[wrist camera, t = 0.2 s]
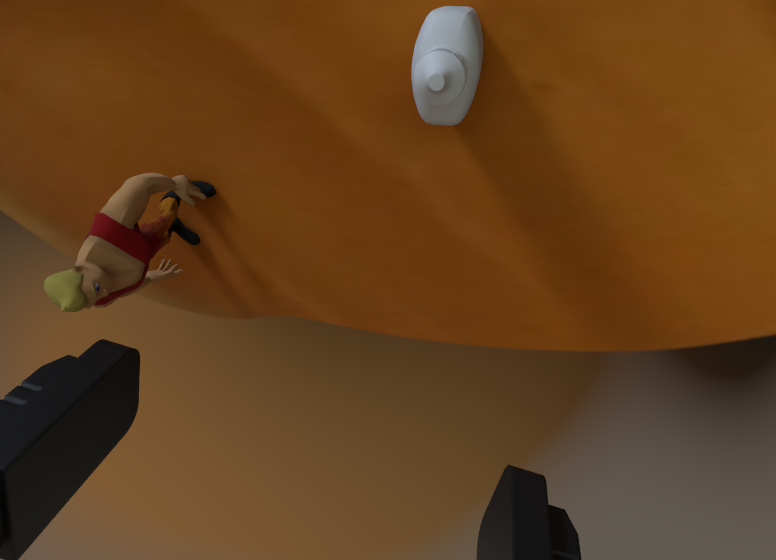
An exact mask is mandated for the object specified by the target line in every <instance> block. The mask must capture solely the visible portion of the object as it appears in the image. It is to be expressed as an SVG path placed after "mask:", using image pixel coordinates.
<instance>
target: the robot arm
mask: <svg viewBox="0 0 776 560" xmlns="http://www.w3.org/2000/svg"><path fill="white" fill-rule="evenodd" d="M139 374H140V354H139V351H138V350H136V349H134V348H130V347H127V346H124V345H121V344H117V343H114V342H111V341H107V340H104V339H102V340H99V341H97V342H96V343H95V344H93V345H92V346H91V347H90V348H89V349H87V350H86V351H85V352H84V353H83V354H82V355H81V356H79V357H78V358H76V357H74V356H70V355H67V356H65V357H62V358H60V359H58V360H55V361H53V362H51V363H48V364H46V365H43V366H42V367H40V368H39V369H38V370H36V372H34V373H33V374H32V375H30V376H29V377H28V378H27V379H25V380H24V381H23V382H22V384H21V386H17V387H15V388H14V389H13V390H12V391H11V392H9V393H8V394H7V395H6V396H5V398H4V399H3V400H0V558H1V559H5V560H18V559H19V558H20V557H21V556H22V555H23V553H24V552H25V551H26V550H27V549H28V548H29V546H30V545H31V544H32V543H33V542H34V540H35V539H36V538H37V537H38V536H39V535H40V533H41V532H42V531H43V530H44V529H45V528H46V526H47V525H48V524H49V523H50V522H51V520H52V519H53V518H54V517H55V516H56V515H57V513H58V512H59V511H60V510H61V509H62V508H63V507H64V505H65V504H66V503H67V502H68V501H69V500H70V498H71V497H72V496H73V495H74V494H75V493H76V491H77V490H78V489H79V488H80V487H81V486H82V484H83V483H84V482H85V481H86V480H87V479H88V477H89V476H90V475H91V474H92V473H93V471H94V470H95V469H96V468H97V467H98V466H99V464H100V463H101V462H102V461H103V460H104V459H105V457H106V456H107V455H108V454H109V453H110V452H111V450H112V449H113V448H114V447H115V446H116V445H117V443H118V442H119V441H120V440H121V439H122V437H123V436H124V435H125V434H126V433H127V431H128V430H129V428H130V427H131V425H132V423H133V421H134V419H135V416H136V413H137V409H138V402H139ZM477 560H581V553H580V546H579V538H578V533H577V532H576V530H575V528H574V526H573V524H572V522H571V520H570V519H569V517H568V515H567V513H566V511H565V510H564V509H561V508H558V507H555V506H551V505H548V497H547V486H546V479H545V477H544V476H543V475H541V474H537V473H534V472H530V471H527V470H524V469H521V468H518V467H514V466H511V465H508V466H507V467H506V468H505V470H504V472H503V474H502V476H501V478H500V480H499V483H498V485H497V487H496V489H495V491H494V494H493V496H492V498H491V500H490V502H489V505H488V507H487V509H486V511H485V514H484V516H483V519H482V523H481V526H480V531H479V536H478V544H477Z"/></svg>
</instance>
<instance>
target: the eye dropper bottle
mask: <svg viewBox="0 0 776 560" xmlns="http://www.w3.org/2000/svg"><path fill="white" fill-rule="evenodd" d="M482 60H483V36H482V29H481V24H480V21H479V17H478V14H477V12H476V11H475V10H474V9H473V8H470V7H463V6H445V7H441V8H438V9H434V10H432V11H431V12H430V13H429V14H428V16H427V17H426V19H425V21H424V23H423V25H422V27H421V30H420V32H419V35H418V38H417V41H416V44H415V48H414V53H413V59H412V73H411V76H412V89H413V94H414V99H415V103H416V106H417V109H418V112H419V114H420V116H421V118H422V119H423V120H424V122H426V123H429V124H434V125H446V126H453V125H457V124H459V123H460V122H461V121H462V120H463V119H464V117H465V116H466V114H467V112H468V110H469V108H470V106H471V103H472V101H473V98H474V95H475V92H476V89H477V85H478V81H479V76H480V72H481V67H482Z"/></svg>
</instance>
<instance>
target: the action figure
mask: <svg viewBox="0 0 776 560" xmlns="http://www.w3.org/2000/svg"><path fill="white" fill-rule="evenodd" d="M167 190H172V191H170V192H168V193H167V194H166V195H165V196H164V197H163V198H162V200H161V202H160V208H161V210H162V212H163V213H162V214H161V215H159V216H158V217H156V218H155V219H153V220H151V221H150V222H147V223H143V224H141V225H140V226H138V223H137V222H138V221H139V219H140V218H141V217H142V215H143V213H144V211H145V209H146V206H147V204H148V202H149V198H150V195H151V194H154V193H157V192H162V191H167ZM215 192H216V191H215V189H214V187H213V186H212V185H210V184H209V183H206V182H201V181H190V180H189V179H188V178H187V176H185V175H179V176H175V177H173V178H172V179H171V178H168V177H167V176H165V175H162V174H159V173H145V174H140V175H137V176H134V177H131V178H129V179H127V180H126V181H125V182H124V184H123V186H122V187H121V188H120V189H119V190H118V191H117V192H116V193H115V194H114V195H113V196H112V197H111V198H110V199H109V201H108V203H107V204H106V205H105V206H104V207H103V208H102V209H101V211H100V212H99V213H96V214H95V218H94V221H93V224H92V227H91V230H90V232H89V234H88V235H87V237H86V239H85V241H84V243H83V245H82V247H81V249H80V252H79V254H78V257H77V261H76V264H75V266H74V267H73V269H71V270H66V271H63V272H60V273H56V274H53V275H51V276H49V277H47V278H46V280H45V282H44V287H45V291H46V293H47V295H48V296H49V298H50V299H51V300H52V302H54V303H55V304H56V305H58V306H59V307H60V308H61V310H62V311H66V312H76V311H79V310H82V309H83V308H88V309H89V308H91V307H92V306H95V307H107V306H108V305H110V304H112V303H113V302H114V301H115V300H117V299H118V298H121V297H125V296H128V295H130V294H132V293H134V292H136V291H138V290H140V289H142V288H143V287H145V286H146V285H147V284H148V283H154V282H160V281H162V280H164V279H166V278H169V277H173V276H177V275H179V274H181V273H182V272H183V269H179V270H177V271H175V270H176V269H177V268H178V264H175V265H173V267H172V268H170V269H168V268H169V267H170V265H171V263H172V261H171V260H169V261H168V262H167V264H166V266H165V268H164V269H163V267H164V263H165V261H166V260H165V259H163V260H162V262H161V265H160V266H159V268H158V270H153V271H148V268H149V262H150V260H151V259H152V258H153V257H154V255H155V254H156V253H157V251H158V250H160V249H161V248H162V247H163V246H165V244H168V243H169V242H170V237H171V233H172V232H173V231H174V232H176V233H177V234H178V235H179V236H180V237H181V238H183V239H184V240H185V241H187V242H188V243H190V244H192V245H198V244H199V243H200V238H199V237H198V235H197V234H196V233H194V232H192V231H190V230H189V229H187V228H186V227H184V226H183V225H182V223H181V221H180V220H179V219H178V218H177V210H178V207H179V205H180V200H181V199H182V200H183V201H184V202H186V203H187V204H189V205H191V206H194V204H195V202H194V200H193V199H191V198H190V197H189V196H188V195H194V196H196V197H200V198H201V199H205V198H207V197H212V196H214V195H215ZM147 271H148V272H147Z"/></svg>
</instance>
